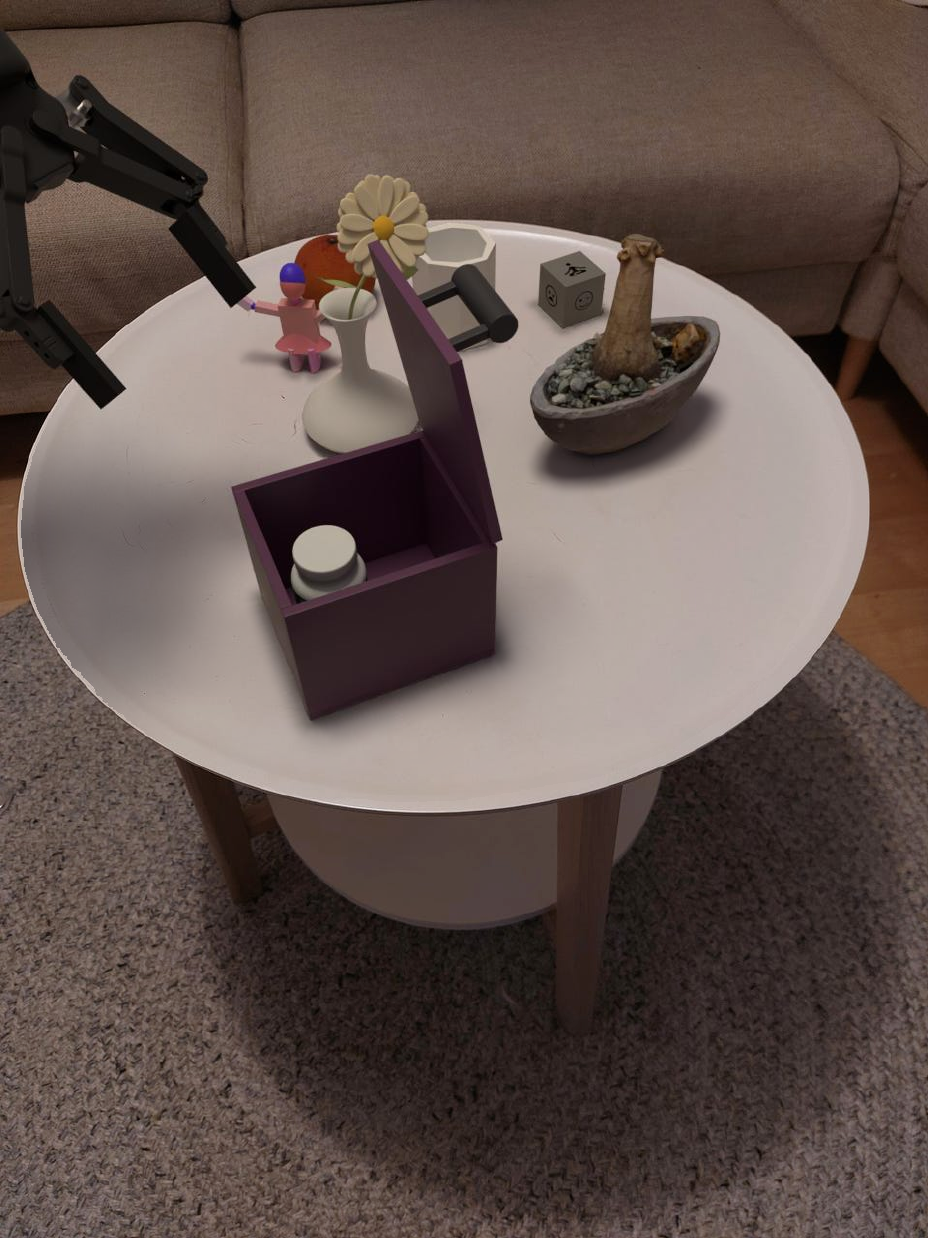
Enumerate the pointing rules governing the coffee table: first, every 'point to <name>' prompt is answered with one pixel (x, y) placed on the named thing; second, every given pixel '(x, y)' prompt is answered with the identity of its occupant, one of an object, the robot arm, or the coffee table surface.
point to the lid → (446, 370)
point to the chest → (374, 571)
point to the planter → (625, 366)
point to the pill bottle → (325, 563)
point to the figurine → (295, 319)
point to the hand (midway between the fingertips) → (183, 346)
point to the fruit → (327, 268)
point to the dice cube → (571, 289)
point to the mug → (439, 263)
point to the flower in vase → (360, 396)
